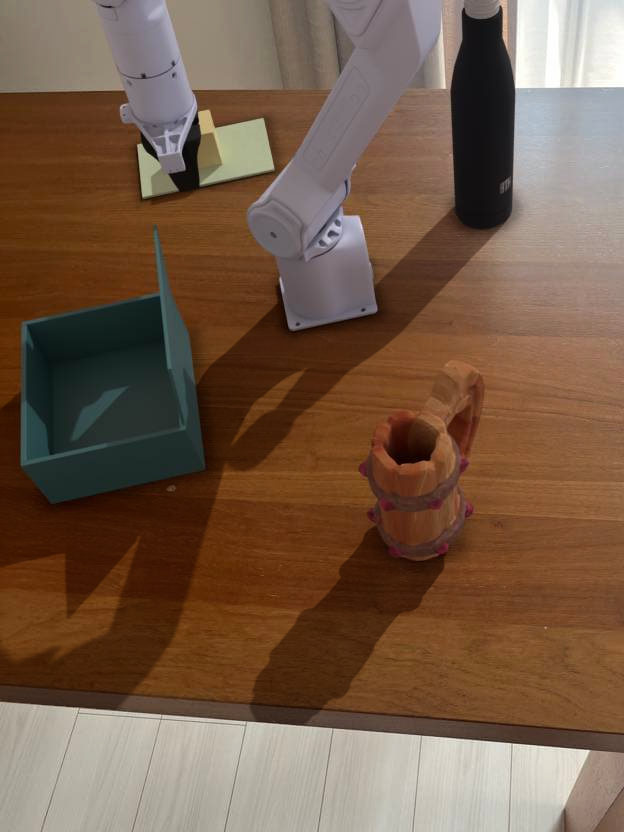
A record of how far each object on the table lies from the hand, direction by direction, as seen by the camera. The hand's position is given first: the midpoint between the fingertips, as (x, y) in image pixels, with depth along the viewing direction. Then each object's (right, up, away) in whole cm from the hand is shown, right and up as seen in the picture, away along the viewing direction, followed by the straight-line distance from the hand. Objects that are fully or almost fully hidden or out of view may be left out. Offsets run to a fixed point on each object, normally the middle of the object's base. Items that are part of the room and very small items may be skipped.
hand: (189, 186), depth 90 cm
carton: (-6, -23, -1) cm, 24 cm away
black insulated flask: (+31, +1, +10) cm, 32 cm away
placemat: (-2, +10, +18) cm, 21 cm away
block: (-3, +11, +17) cm, 21 cm away
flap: (0, -16, -10) cm, 19 cm away
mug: (+25, -33, -9) cm, 43 cm away
